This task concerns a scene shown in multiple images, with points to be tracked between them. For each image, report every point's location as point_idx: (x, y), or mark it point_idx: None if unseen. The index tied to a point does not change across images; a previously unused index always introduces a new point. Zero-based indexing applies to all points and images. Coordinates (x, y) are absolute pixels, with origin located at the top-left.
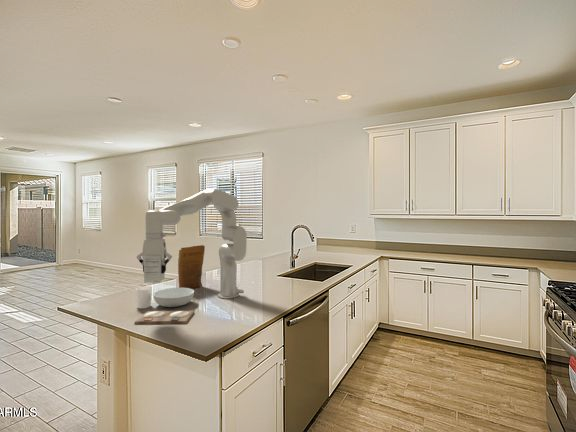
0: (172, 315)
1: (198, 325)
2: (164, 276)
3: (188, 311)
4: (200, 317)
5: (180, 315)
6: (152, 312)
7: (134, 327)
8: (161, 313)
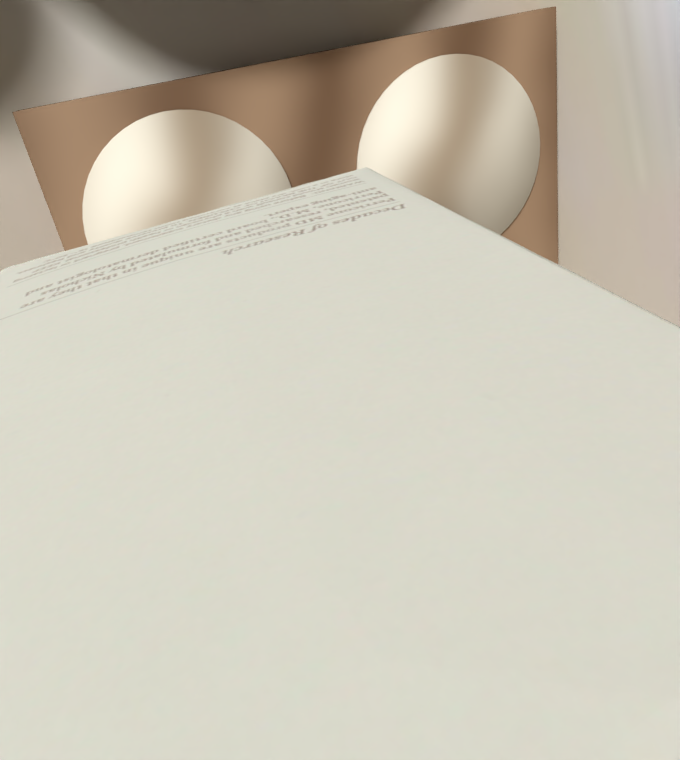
0: None
1: (641, 306)
2: (389, 181)
3: (503, 45)
4: (625, 131)
5: (472, 198)
6: (127, 167)
7: None
8: (252, 179)
